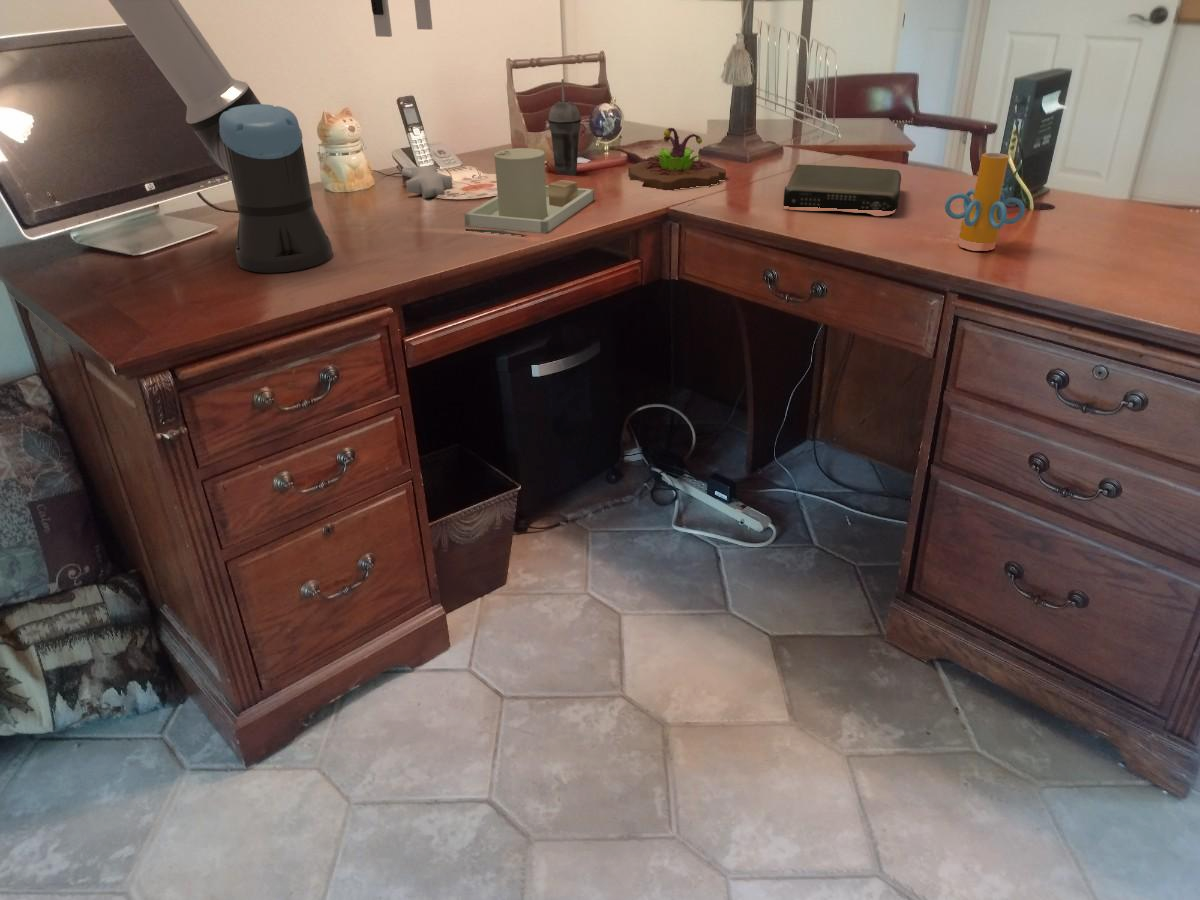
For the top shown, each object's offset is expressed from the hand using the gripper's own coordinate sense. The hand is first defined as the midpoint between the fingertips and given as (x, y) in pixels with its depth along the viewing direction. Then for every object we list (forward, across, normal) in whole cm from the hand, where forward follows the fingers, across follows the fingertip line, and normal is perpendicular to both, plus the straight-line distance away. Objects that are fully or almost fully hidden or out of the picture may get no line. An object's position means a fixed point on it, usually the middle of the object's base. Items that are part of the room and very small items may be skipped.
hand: (405, 33), depth 154 cm
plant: (+32, +42, -38) cm, 65 cm away
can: (+31, 0, -21) cm, 37 cm away
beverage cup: (+32, +38, -14) cm, 52 cm away
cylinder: (+32, +10, -100) cm, 105 cm away
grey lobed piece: (+32, +15, +8) cm, 36 cm away
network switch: (+32, +34, -75) cm, 88 cm away
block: (+31, +11, -24) cm, 41 cm away
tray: (+32, +4, -21) cm, 38 cm away
